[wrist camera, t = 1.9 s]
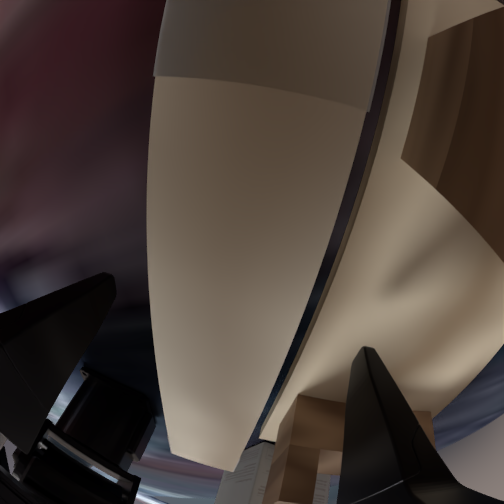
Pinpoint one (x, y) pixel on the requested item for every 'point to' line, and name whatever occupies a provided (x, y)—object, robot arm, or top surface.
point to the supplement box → (258, 479)
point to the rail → (246, 195)
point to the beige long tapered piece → (409, 245)
